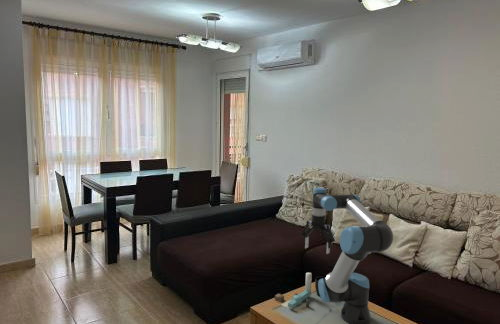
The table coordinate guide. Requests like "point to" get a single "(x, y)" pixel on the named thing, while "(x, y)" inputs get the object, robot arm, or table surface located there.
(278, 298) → the walnut block
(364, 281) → the robot arm
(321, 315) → the table surface
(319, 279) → the mug
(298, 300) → the lever
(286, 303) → the press base
